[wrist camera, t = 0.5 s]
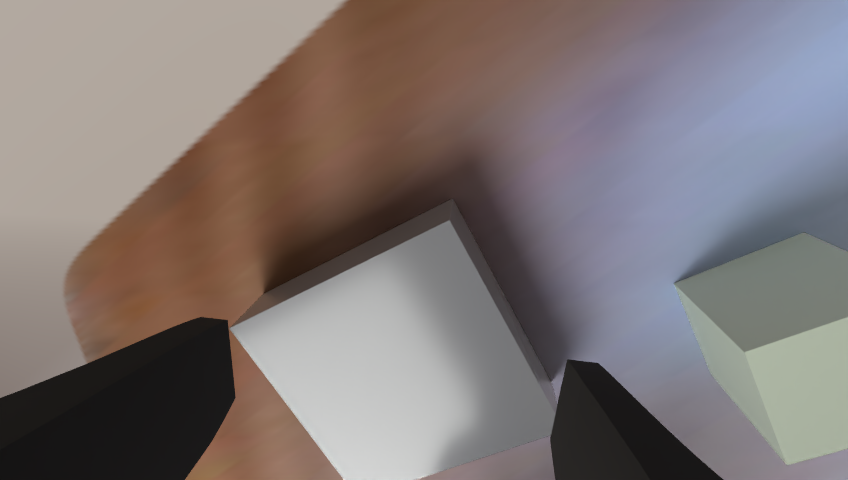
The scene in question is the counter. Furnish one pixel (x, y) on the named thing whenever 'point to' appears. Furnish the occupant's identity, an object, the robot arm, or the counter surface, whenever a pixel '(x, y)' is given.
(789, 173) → the counter surface
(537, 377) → the stone base
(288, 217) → the counter surface
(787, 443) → the green block
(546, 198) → the counter surface
